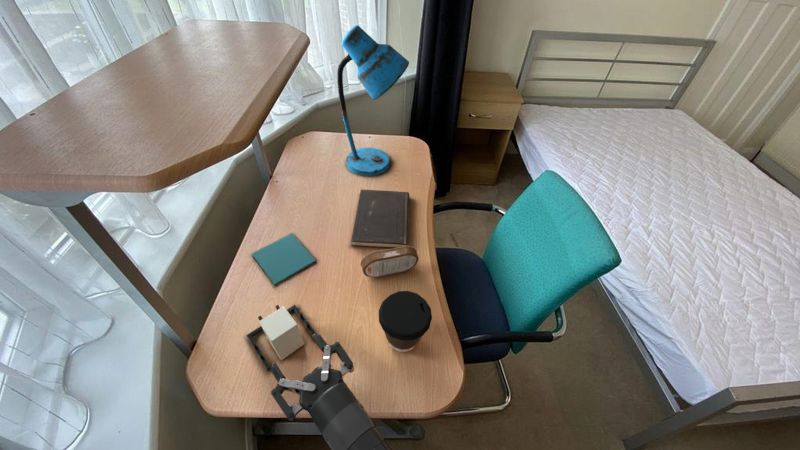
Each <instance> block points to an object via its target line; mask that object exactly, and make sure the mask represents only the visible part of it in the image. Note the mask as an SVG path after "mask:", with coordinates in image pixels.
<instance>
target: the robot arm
mask: <svg viewBox="0 0 800 450" xmlns="http://www.w3.org/2000/svg"><path fill="white" fill-rule="evenodd" d="M316 334H317V333H316ZM316 334H313V335H312V334H311V338H312V340H313V342H314V343H315V344H316V346H317V347H318V349H319V350H320V351H321V353H322V354H323V357H322V364H321V366H317V367H315V368H313V370H312V372H310V373H308V374H306V375H305V376H304V377H302V380H301V381H300V380H296V379H292V380H291V379H287V378H286V375H284V373H283V372H282V370H281V369H280V367H279V365H278V364H277V362H276V361H274V362H273V363H271V365H272V367H271V370H270V372H271V373H272V375H273V377H274V379H275V380H276V382H277V384H276V386H275V387H274V388H273V389H271V391H270V394H271V396H272V398H273V399H274V401H275V402H276V404H277V405H278V406H279V408H280V410H281V411H282V413H283V414H284V415H285V417H286V419H287V420H288V421H289V422H294V421H295V420H296V418H297V415H298V414H300V412H302V411H303V410H305V411H306V412H307V413H308V414H309V416H310V418H311V419H312V421H313V422H314V424H315V426H316V428H317V429H318V430H319V432H320V434H321V436H322V437H323V439H324V441H325V442H326V444H327V445H328V446H329V448H330V450H393V449H392V447H390V446H389V444H388V443H387V441H386V440H385V438H384V437H383V435H381V433H380V432H379V430H378V428H376V426H375V424H374V422H373V421H372V419H371V417H370V416H369V414H368V412H367V411H366V410H365V407H364V406H363V404H362V403H360V401H359V399H358V398H357V397H356V396H355V395H354V393H353V392H352V391H351V389H350V387H348V385H347V383H346V382H345V380H344V378H343V377H344V376H346V375H347V374H349V373H350V374H351V373H353V372H354V371H355V365H354V361H352V359H351V358H350V355H348V353H347V352H346V350H345V349H344V347H343V346H342V344H341V343H340V342H339V341H336V342H334V343H333V344H328V343H327V341H326V340H325V338H324V337H323V336H322V335H321V334H317V335H316ZM334 354H336V355H337V357H338V358H339V360H340V361H341V363H340V370H339V369H335V368H332V357H333V355H334ZM284 392H290V393H293V394H295V395H299V398H298V404H295V403H293V402H290V403H288V402H287V401H286V399H285V398H284V396H283V394H284ZM0 450H38V449H36V448H34V447H31V446H27V445H25V444H22V443H20V442H17V441H15V440H12V439H9V438H7V437H5V436H2V435H0Z"/></svg>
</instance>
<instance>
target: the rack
mask: <svg viewBox="0 0 800 450" xmlns="http://www.w3.org/2000/svg"><path fill="white" fill-rule="evenodd" d="M280 308H281V307H280V305H279V304H276V305H275V309H276V311H277V310H278V309H280ZM286 310H287V311H288V312H289V314H290V315H291V313H293V312H294V313H295V315H296V316H297V317H298V318H299V320H300V321H301V322H302V324H303V325H304V326H305V328H306V329H307V330H308V332H309V333H310V334H311V336H312V335H313V334H316V335H318V334H317V332H316V331H315V330H314V328H313V327H312V325H311V324H310V322H309V321H308V320H307V319H306V318H305V316H304V315H303V312H301V311H300V309H299V308H298V307H297V306H296V304H293V305H291V306H290V307H289V308H286ZM257 319H258V322H259V321H260V320H262V319H264V318H263V316H262V315H258V317H257ZM262 332H264V331H263V329H262V327H261V325H260V326H258V327H257V328H255V329H254V330H252V331H251V332H249V333H247V334H246V337H247V339H248V341H249V342H250V344H251V346H252V348H253V349H254V350H255V352H256V354H257V356H258V358H259V359H260V361H261V362H262V364H263V366H264V367H265V369H266V371H267V372H269V371H271V368H272V367H271V365H270V363H269V362H268V360H267V359H266V357H265V355H264V354H263V353H262V351H261V349H260V347H259V346H258V344H257V342H256V341H255V339H254V337H257V335H259V334H260V333H262Z"/></svg>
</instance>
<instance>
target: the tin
mask: <svg viewBox="0 0 800 450" xmlns="http://www.w3.org/2000/svg"><path fill="white" fill-rule="evenodd" d="M418 262H419V255H418V251H417V249H416V248H415V247H414V246H410V245H408V246H403V247H398V248H393V249H392V248H386V249H382V250H375V251H372V252H370V253H368V254H366V255H365V256H364V257H363V258H362V259H361V261H360V267H361V271H362V273H363V275H364V276H366V277H368V278H375V279H376V278H382V277H387V276H390V275H395V274H400V273H405V272H409V271H410V270H413V269H414V267H416V266H417V264H418Z"/></svg>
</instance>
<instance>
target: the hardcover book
mask: <svg viewBox="0 0 800 450" xmlns="http://www.w3.org/2000/svg"><path fill="white" fill-rule="evenodd" d="M409 213H410V192H409V191H397V190H396V191H395V190H381V189H380V190H378V189H377V190H376V189H363V188H362V189H360V192H359V196H358V201H357V207H356V212H355V218H354V223H353V229H352V233H351V238H350V242H351V246H350V247H358V248H377V249H393V248H398V247H403V246H409V216H410V215H409Z"/></svg>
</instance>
